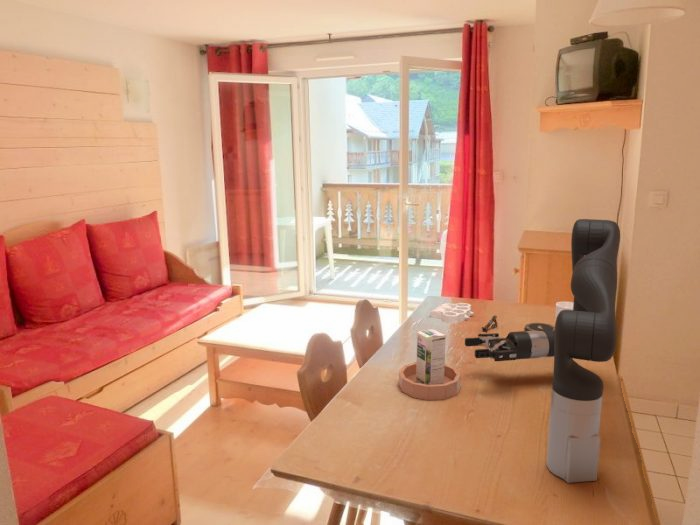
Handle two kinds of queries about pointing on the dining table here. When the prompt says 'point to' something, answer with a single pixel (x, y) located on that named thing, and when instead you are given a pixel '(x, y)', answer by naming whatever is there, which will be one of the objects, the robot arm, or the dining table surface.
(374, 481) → the dining table surface
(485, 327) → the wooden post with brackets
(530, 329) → the jar
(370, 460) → the dining table surface
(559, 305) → the white cup
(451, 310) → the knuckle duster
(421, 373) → the syrup box
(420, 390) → the bowl
